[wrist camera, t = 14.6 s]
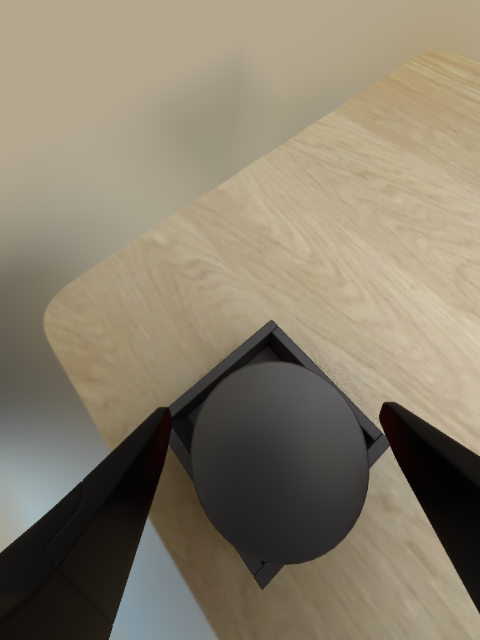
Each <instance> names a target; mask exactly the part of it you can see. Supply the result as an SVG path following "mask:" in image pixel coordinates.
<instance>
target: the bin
mask: <svg viewBox="0 0 480 640" xmlns="http://www.w3.org/2000/svg"><path fill="white" fill-rule="evenodd" d="M264 361H283V362H289V363H294V364H297V365H300V366H303V367H305V368H308V369H310V370H312V371H314V372H315V373H317V374H319V375H321V376H322V377H323V378H325V379H326V380H327V381H329V382H330V383H331V384H332V385H333V386H334V387H335V388H336V389H337V390H338V391H339V392H340V393H341V394H342V395H343V397H344V398H345V399H346V400H347V402H348V403H349V405H350V406H351V408H352V409H353V411H354V413H355V415H356V417H357V419H358V421H359V423H360V426H361V428H362V431H363V434H364V437H365V441H366V445H367V450H368V458H369V469H370V468H371V466H372V465H373V464H374V463H375V462H376V461H377V460H378V459H379V457H380V456H381V455H382V454H383V453H384V452H385V451H386V449H387V448H388V447H389V446H390V444H389V442H388V440H387V437H386V436H385V435H384V434H383V433H382V432H381V431H380V430H379V429H378V428H377V427H376V426H375V425H374V424H373V423H372V422H371V421H370V420H369V419H368V418H367V417H366V416H365V415H364V414H363V413H362V411H361V410H360V409H359V408H358V407H357V406H356V405H355V404H354V403H353V402H352V401H351V400H350V399H349V398H348V397H347V396H346V395H345V394H344V393H343V392H342V391H341V390H340V389H339V388H338V387H337V386H336V385H335V384H334V383H333V382H332V381H331V380H330V379H329V378H328V377H327V376H326V375H325V374H324V373H323V372H322V370H321V369H320V368H319V367H318V366H317V365H316V364H315V363H314V362H313V361H312V360H311V359H310V358H309V357H308V356H307V355H306V354H305V353H304V352H303V351H302V350H301V349H300V348H299V347H298V346H297V345H296V344H295V343H294V342H293V341H292V340H291V339H290V338H289V337H288V336H287V335H286V334H285V333H284V332H283V331H282V329H281V328H280V327H278V325H277V324H276V323H275V322H274V321H273V320H270V321H269V322H268V323H267V324H266V325H264V326H263V327H262V328H261V329H260V330H259V331H257V332H256V333H255V334H254V335H253V336H251V337H250V338H249V339H248V340H247V341H246V342H244V343H243V344H242V345H241V346H240V347H239V348H237V349H236V350H235V351H234V352H233V353H231V354H230V355H229V356H228V357H227V358H226V359H224V360H223V361H222V362H221V363H220V364H218V365H217V366H216V367H215V368H214V369H213V370H211V371H210V372H209V373H208V374H207V375H206V376H204V377H203V378H202V379H201V380H200V381H198V382H197V383H196V384H195V385H194V386H193V387H191V388H190V389H189V390H188V391H187V392H185V393H184V394H183V395H182V396H181V397H180V398H178V399H177V400H176V401H175V402H174V403H173V404H171V405H170V406H169V409H170V413H171V417H172V421H173V424H172V430H171V434H170V439H169V445H170V447H171V448H172V450H173V451H174V453H175V454H176V456H177V458H178V459H179V461H180V462H181V464H182V465H183V467H184V469H185V470H186V472H187V473H188V475H189V476H190V478H191V480H192V481H193V478H192V472H191V464H190V449H191V439H192V434H193V429H194V425H195V422H196V419H197V416H198V414H199V412H200V409H201V407H202V405H203V403H204V402H205V400H206V399H207V397H208V396H209V394H210V393H211V392H212V390H213V389H214V388H215V387H216V386H217V385H218V384H219V383H220V382H221V381H222V380H223V379H224V378H226V377H227V376H228V375H230V374H231V373H233V372H234V371H236V370H238V369H240V368H242V367H245V366H247V365H250V364H254V363H258V362H264ZM193 483H194V482H193ZM235 549H236V550H237V552H238V553H239V555H240V556H241V558H242V560H243V561H244V563H245V564H246V566H247V567H248V569H249V571H250V572H251V574H252V575H253V576H254V578H255V580H256V582H257V583H258V585H259V586H260V588H261V589H262V590H263V589H264V588H265V586H266V585H267V584H268V583H269V582H270V581H271V580H272V579H273V577H274V576H275V575H276V574H277V573H278V572H279V571H280V569H281V568H282V567H283V566H284V565H282V564H272V563H268V562H264V561H261V560H258V559H255V558H253V557H251V556H249V555H246V554H245V553H243V552H242V551H240V550H239V549H237V548H235Z"/></svg>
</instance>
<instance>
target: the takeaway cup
mask: <svg viewBox="0 0 480 640" xmlns="http://www.w3.org/2000/svg"><path fill="white" fill-rule="evenodd" d="M190 464H191V472H192V478H193V482H194V486H195V490H196V493H197V496H198V498H199V501H200V504H201V505H202V507H203V509H204V511H205V513H206V515H207V517H208V518H209V520H210V521H211V523H212V524H213V526H214V527H215V528H216V529H217V530H218V532H219V533H220V534H221V535H222V536H223V537H224V538H225V539H226V540H227V541H228V542H229V543H231V544H232V545H233V546H234V547H235V548H237V549H239V550H240V551H242V552H243V553H245V554H246V555H249V556H251V557H253V558H255V559H258V560H261V561H264V562H268V563H272V564H282V565H289V564H300V563H304V562H308V561H311V560H314V559H316V558H318V557H320V556H323V555H324V554H326V553H327V552H329V551H330V550H332V549H333V548H335V547H336V546H337V545H338V544H339V543H340V542H341V541H342V540H343V539H344V538H345V537H346V536H347V534H348V533H349V532H350V531H351V529H352V528H353V526H354V525H355V523H356V521H357V519H358V517H359V516H360V513H361V510H362V508H363V505H364V503H365V498H366V494H367V490H368V482H369V458H368V450H367V445H366V441H365V437H364V434H363V431H362V428H361V426H360V423H359V421H358V419H357V417H356V415H355V413H354V411H353V409H352V408H351V406H350V405H349V403H348V402H347V400H346V399H345V398H344V397H343V395H342V394H341V393H340V392H339V391H338V390H337V389H336V388H335V387H334V386H333V385H332V384H331V383H330V382H329V381H327V380H326V379H325V378H323V377H322V376H321V375H319V374H317V373H315V372H314V371H312V370H310V369H308V368H305V367H303V366H300V365H297V364H294V363H289V362H283V361H264V362H258V363H254V364H250V365H247V366H245V367H242V368H240V369H238V370H236V371H234V372H233V373H231V374H230V375H228V376H227V377H226V378H224V379H223V380H222V381H221V382H220V383H219V384H218V385H217V386H216V387H215V388H214V389H213V390H212V392H211V393H210V394H209V396H208V397H207V399H206V400H205V402H204V403H203V405H202V407H201V409H200V412H199V414H198V416H197V419H196V422H195V425H194V429H193V434H192V439H191V449H190Z"/></svg>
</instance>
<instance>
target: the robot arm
mask: <svg viewBox="0 0 480 640" xmlns="http://www.w3.org/2000/svg"><path fill="white" fill-rule="evenodd" d="M379 420H380V423H381V426H382V428H383V430H384V433H385V435H386V437H387V440H388V442H389V444H390V447H391V449H392V451H393V454H394V456H395V458H396V460H397V462H398V464H399V466H400V468H401V470H402V472H403V474H404V475H405V477H406V479H407V481H408V483H409V485H410V486H411V488H412V490H413V492H414V494H415V496H416V497H417V499H418V501H419V503H420V505H421V507H422V509H423V510H424V512H425V514H426V516H427V518H428V520H429V521H430V523H431V525H432V527H433V529H434V531H435V533H436V534H437V536H438V538H439V540H440V542H441V544H442V545H443V547H444V549H445V551H446V553H447V555H448V557H449V558H450V560H451V562H452V564H453V566H454V568H455V569H456V571H457V573H458V575H459V577H460V579H461V580H462V582H463V584H464V586H465V588H466V590H467V592H468V593H469V595H470V597H471V599H472V601H473V603H474V604H475V606H476V608H477V610H478V612H479V614H480V456H478V455H477V454H475V453H474V452H472V451H471V450H469V449H468V448H466V447H464V446H463V445H461V444H460V443H458V442H457V441H455V440H454V439H452V438H450V437H449V436H447V435H446V434H444V433H443V432H441V431H440V430H438V429H437V428H435V427H433V426H432V425H430V424H429V423H427V422H426V421H424V420H423V419H421V418H419V417H418V416H416V415H415V414H413V413H412V412H410V411H409V410H407V409H405V408H404V407H402V406H401V405H399V404H398V403H396V402H384V403H383V405H382V408H381V411H380V415H379ZM172 424H173V421H172V417H171V413H170V409H169V407H159V408H157V409H156V410H155V411H154V412H153V413H152V414H151V415H150V416H149V417H148V418H147V419H146V420H145V421H144V422H143V423H142V424H141V425H139V426H138V427H137V428H136V429H135V430H134V431H133V432H132V433H131V434H130V435H129V436H128V437H127V438H126V439H125V440H124V441H123V442H122V443H121V444H120V445H119V446H118V447H117V448H115V449H114V450H113V451H112V452H111V453H110V454H109V455H108V456H107V457H106V458H105V459H104V460H103V461H102V462H101V463H100V464H99V465H98V466H97V467H96V468H95V469H94V470H93V471H91V472H90V474H88V475H87V476H86V477H85V478H84V479H83V482H80V483H79V484H78V485H77V486H76V487H75V488H74V489H73V490H72V491H70V492H69V493H68V494H67V495H66V496H65V497H64V498H63V499H62V500H61V501H60V502H59V503H58V504H56V505H55V506H54V507H53V508H52V509H51V510H50V511H49V512H48V513H46V514H45V515H44V516H43V517H42V518H41V519H40V520H38V521H37V522H36V523H35V524H34V525H33V526H31V527H30V528H29V529H28V530H27V531H26V532H24V533H23V534H22V535H21V536H20V537H18V538H17V539H16V540H15V541H14V542H13V543H11V544H10V545H9V546H8V547H7V548H6V549H4V550H3V551H2V552H1V553H0V640H109V637H110V634H111V631H112V627H113V625H112V624H113V623H114V620H115V618H116V614H117V611H118V608H119V605H120V602H121V598H122V596H123V592H124V589H125V586H126V583H127V580H128V577H129V573H130V570H131V567H132V564H133V561H134V558H135V555H136V551H137V548H138V545H139V542H140V539H141V536H142V532H143V529H144V526H145V523H146V520H147V517H148V514H149V510H150V507H151V504H152V501H153V498H154V495H155V491H156V488H157V485H158V482H159V479H160V476H161V472H162V469H163V466H164V462H165V458H166V453H167V449H168V444H169V439H170V434H171V430H172Z"/></svg>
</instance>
